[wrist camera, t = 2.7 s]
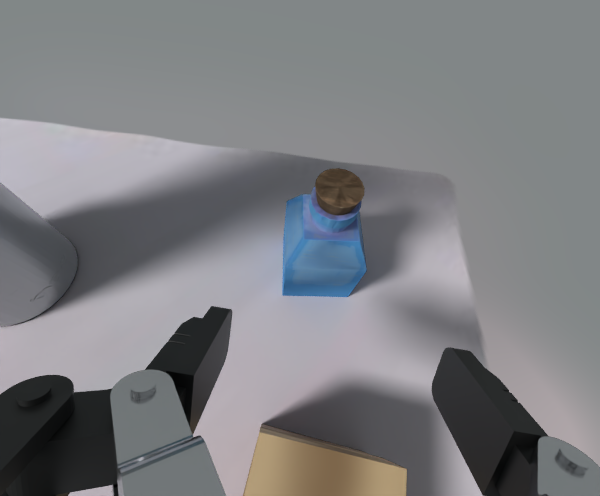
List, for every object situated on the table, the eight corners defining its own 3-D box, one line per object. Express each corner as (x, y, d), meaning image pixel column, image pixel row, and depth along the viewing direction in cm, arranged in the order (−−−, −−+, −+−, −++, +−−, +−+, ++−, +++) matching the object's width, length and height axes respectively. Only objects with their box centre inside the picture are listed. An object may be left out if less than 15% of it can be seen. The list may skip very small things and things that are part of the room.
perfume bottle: (282, 295, 27) (290, 226, 17) (283, 237, 30) (291, 148, 20) (347, 296, 28) (395, 231, 17) (342, 240, 31) (380, 154, 20)
